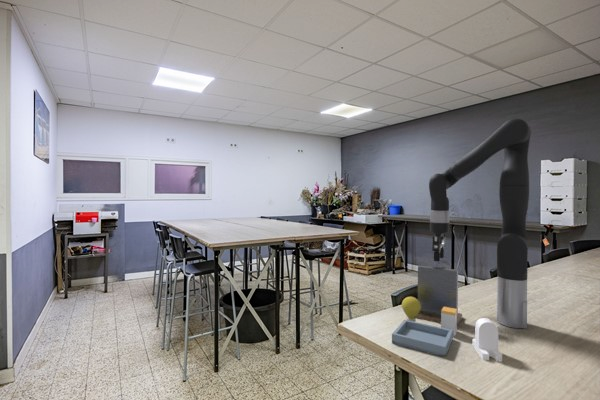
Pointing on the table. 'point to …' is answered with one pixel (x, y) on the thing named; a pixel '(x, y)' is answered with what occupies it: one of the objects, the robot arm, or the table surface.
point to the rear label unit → (437, 292)
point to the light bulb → (411, 308)
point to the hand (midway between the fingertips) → (438, 259)
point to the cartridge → (449, 319)
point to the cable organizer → (486, 340)
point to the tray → (423, 337)
